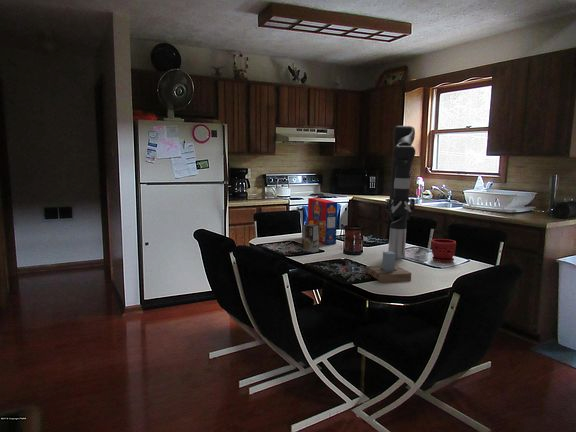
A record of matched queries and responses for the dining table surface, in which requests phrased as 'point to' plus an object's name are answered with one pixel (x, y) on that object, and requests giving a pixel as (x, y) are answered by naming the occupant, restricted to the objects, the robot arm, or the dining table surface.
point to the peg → (388, 261)
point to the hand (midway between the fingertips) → (399, 219)
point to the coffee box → (310, 238)
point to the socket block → (388, 273)
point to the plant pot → (443, 250)
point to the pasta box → (323, 218)
